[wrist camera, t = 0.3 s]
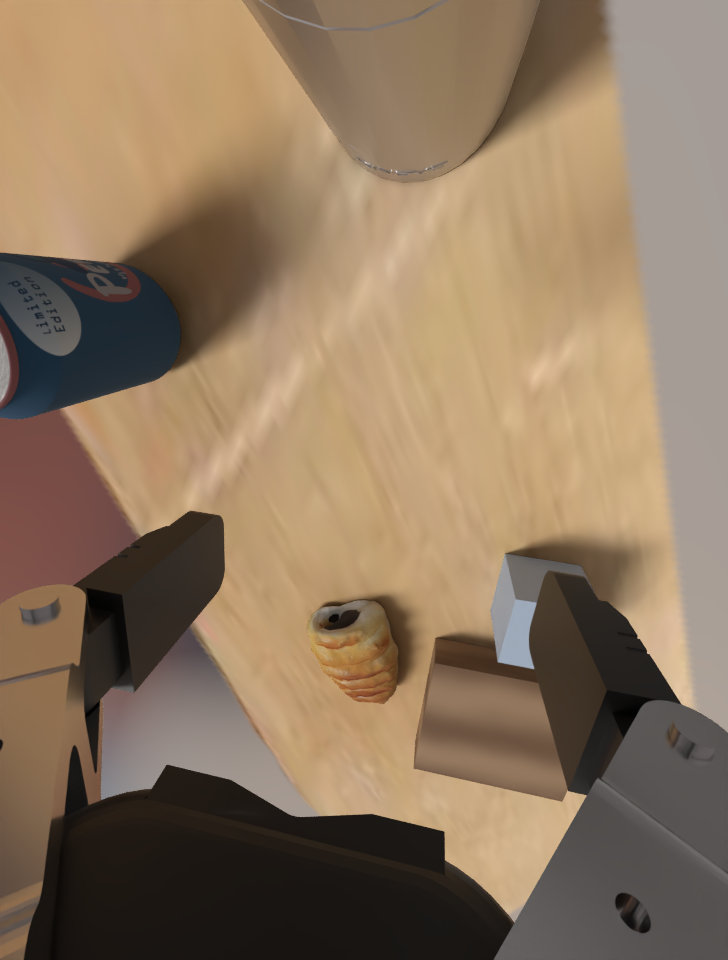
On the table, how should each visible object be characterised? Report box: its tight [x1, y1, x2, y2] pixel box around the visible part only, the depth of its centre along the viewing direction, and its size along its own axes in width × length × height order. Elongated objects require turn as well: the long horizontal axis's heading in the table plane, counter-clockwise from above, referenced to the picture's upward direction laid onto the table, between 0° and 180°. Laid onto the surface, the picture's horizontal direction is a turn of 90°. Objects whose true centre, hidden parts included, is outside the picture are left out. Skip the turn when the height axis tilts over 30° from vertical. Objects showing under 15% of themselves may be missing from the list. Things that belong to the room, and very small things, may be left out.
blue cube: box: [490, 553, 593, 669], centre depth 28 cm, size 5×5×5 cm
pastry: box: [307, 600, 398, 704], centre depth 34 cm, size 9×7×4 cm
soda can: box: [0, 253, 181, 419], centre depth 22 cm, size 7×7×12 cm
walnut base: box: [414, 638, 568, 801], centre depth 34 cm, size 12×12×3 cm
